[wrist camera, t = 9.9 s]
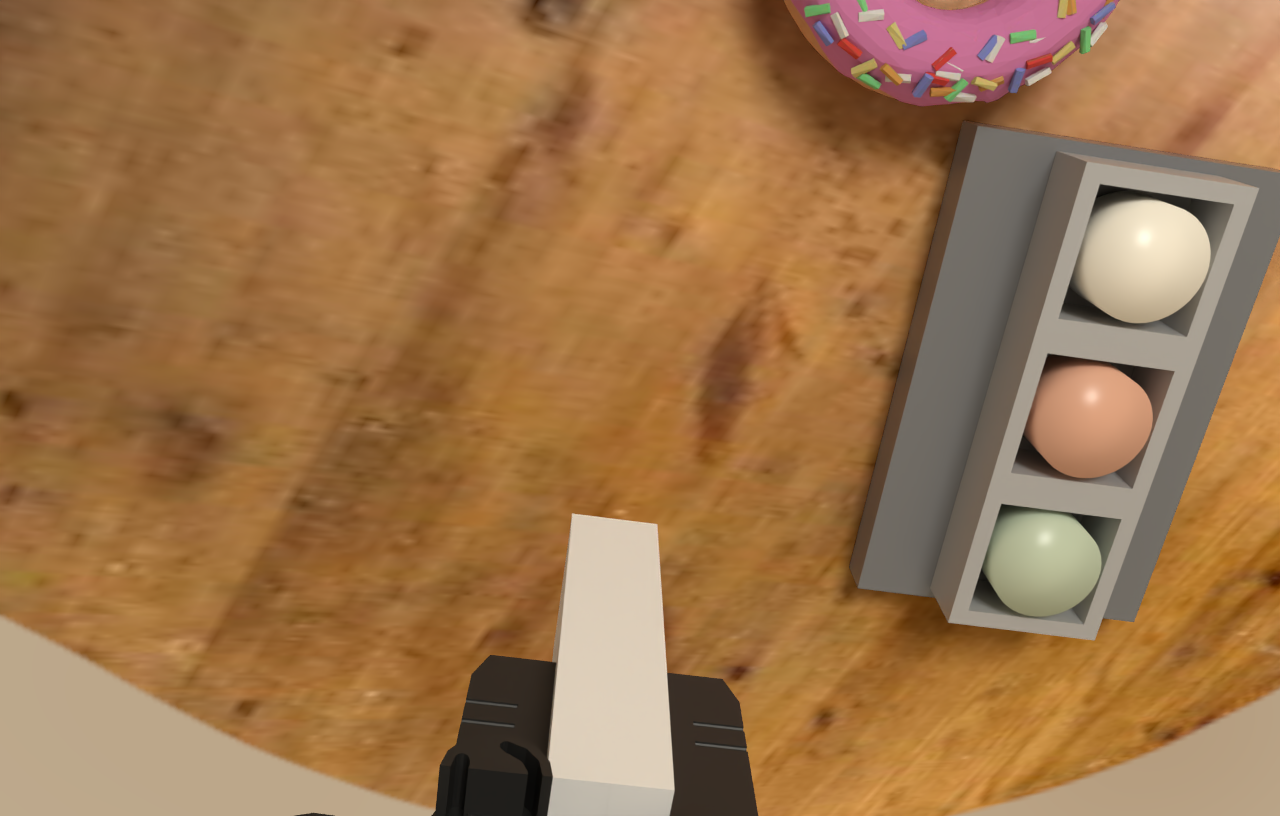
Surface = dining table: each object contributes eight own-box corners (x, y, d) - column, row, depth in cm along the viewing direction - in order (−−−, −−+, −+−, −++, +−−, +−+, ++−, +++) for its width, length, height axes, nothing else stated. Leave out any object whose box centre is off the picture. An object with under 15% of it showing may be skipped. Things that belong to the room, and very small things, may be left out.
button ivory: (1078, 183, 43) (1110, 196, 40) (1189, 199, 43) (1228, 213, 40) (1044, 294, 45) (1072, 314, 42) (1151, 310, 45) (1186, 330, 42)
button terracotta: (1030, 343, 45) (1057, 365, 43) (1135, 357, 46) (1168, 381, 43) (1000, 442, 47) (1024, 470, 44) (1101, 456, 47) (1131, 484, 45)
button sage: (987, 485, 48) (1009, 516, 45) (1087, 498, 48) (1115, 529, 45) (960, 575, 50) (980, 610, 47) (1057, 587, 50) (1082, 622, 47)
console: (963, 120, 44) (1003, 134, 40) (1274, 168, 45) (1349, 188, 41) (849, 567, 52) (871, 622, 48) (1115, 600, 53) (1163, 657, 48)
